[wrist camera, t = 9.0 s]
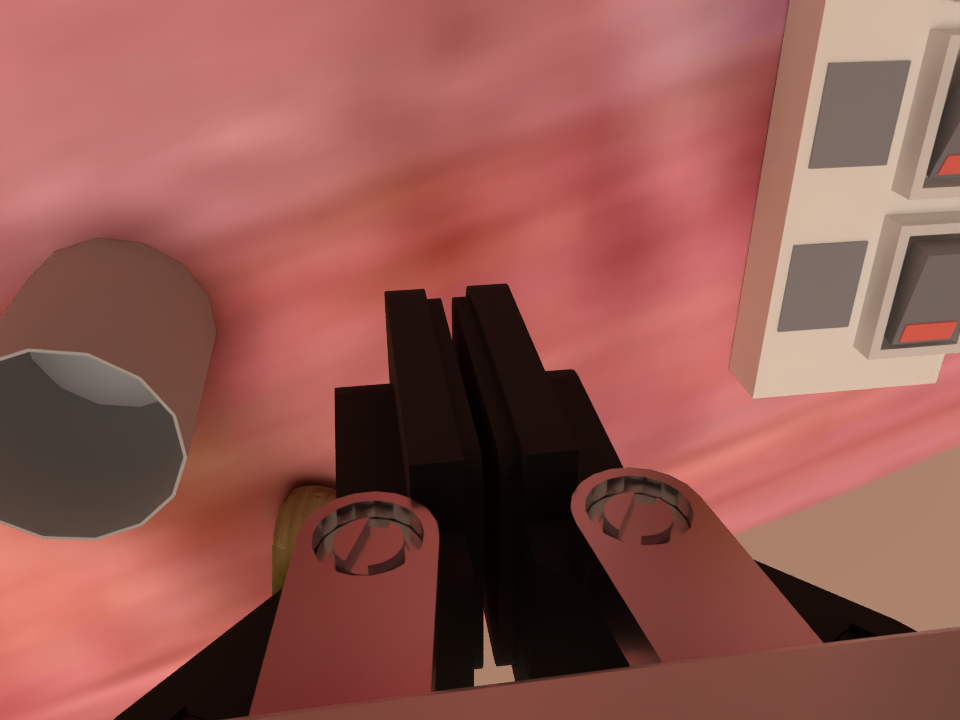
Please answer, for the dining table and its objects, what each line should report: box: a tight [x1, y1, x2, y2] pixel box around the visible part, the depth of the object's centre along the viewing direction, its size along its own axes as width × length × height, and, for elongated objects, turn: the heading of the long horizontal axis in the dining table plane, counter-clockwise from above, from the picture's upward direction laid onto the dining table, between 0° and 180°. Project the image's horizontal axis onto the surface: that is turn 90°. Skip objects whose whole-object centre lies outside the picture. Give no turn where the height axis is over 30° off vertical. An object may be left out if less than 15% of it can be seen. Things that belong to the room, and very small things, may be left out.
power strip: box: [729, 0, 960, 398], centre depth 38 cm, size 28×10×4 cm, turn 0°
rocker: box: [884, 239, 960, 345], centre depth 40 cm, size 5×3×1 cm, turn 0°
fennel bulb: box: [272, 485, 336, 596], centre depth 42 cm, size 6×5×12 cm
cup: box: [0, 238, 217, 540], centre depth 35 cm, size 8×8×10 cm
